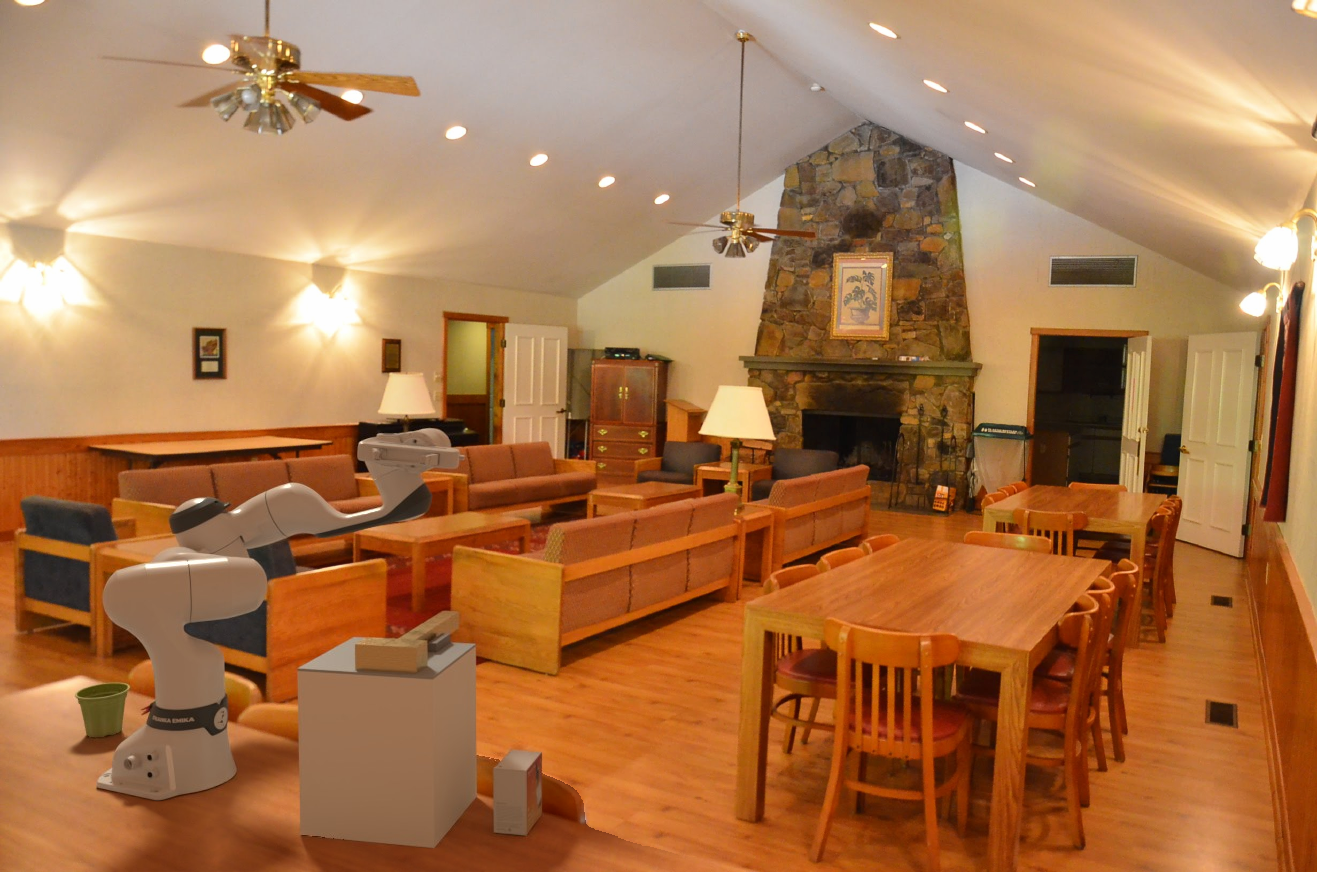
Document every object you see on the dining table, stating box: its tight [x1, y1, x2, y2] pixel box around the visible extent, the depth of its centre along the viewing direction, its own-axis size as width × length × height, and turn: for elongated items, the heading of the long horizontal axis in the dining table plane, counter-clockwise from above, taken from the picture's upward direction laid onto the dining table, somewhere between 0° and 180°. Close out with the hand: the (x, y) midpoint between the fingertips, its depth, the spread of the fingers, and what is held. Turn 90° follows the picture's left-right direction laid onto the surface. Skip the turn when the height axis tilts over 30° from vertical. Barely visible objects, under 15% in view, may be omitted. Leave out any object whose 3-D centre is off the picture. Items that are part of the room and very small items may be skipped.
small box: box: [492, 749, 543, 836], centre depth 152 cm, size 8×6×10 cm
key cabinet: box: [296, 633, 478, 849], centre depth 154 cm, size 22×18×28 cm
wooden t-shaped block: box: [355, 610, 460, 674], centre depth 158 cm, size 10×26×4 cm, turn 170°
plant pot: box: [74, 682, 131, 738], centre depth 190 cm, size 9×9×9 cm
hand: (399, 458), depth 186 cm, fingers open, 8 cm apart
